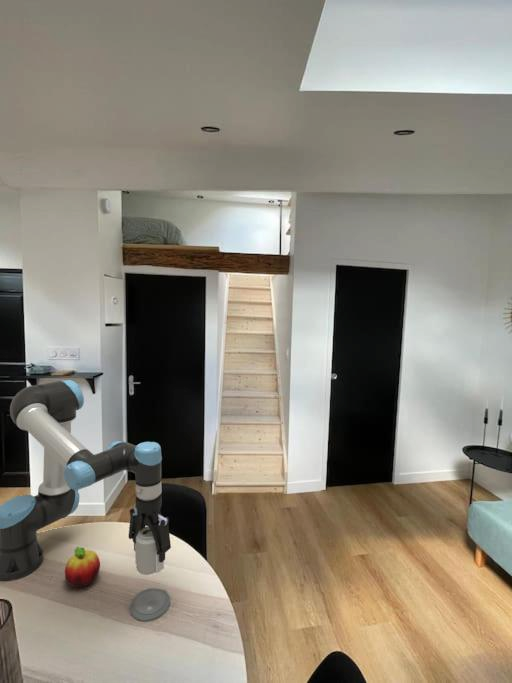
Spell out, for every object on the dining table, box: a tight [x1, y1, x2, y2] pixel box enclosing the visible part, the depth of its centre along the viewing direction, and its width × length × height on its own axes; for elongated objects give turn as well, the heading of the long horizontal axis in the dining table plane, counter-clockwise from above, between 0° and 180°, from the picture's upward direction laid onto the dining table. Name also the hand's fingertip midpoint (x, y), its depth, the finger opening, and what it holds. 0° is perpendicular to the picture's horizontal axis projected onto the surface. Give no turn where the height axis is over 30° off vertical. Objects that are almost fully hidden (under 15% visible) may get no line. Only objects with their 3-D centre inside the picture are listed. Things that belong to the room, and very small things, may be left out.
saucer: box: [129, 587, 171, 622], centre depth 117 cm, size 12×12×1 cm
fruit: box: [64, 546, 101, 588], centre depth 126 cm, size 11×11×10 cm
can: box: [135, 525, 157, 576], centre depth 115 cm, size 8×8×12 cm
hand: (149, 565), depth 115 cm, fingers closed on can, 7 cm apart
